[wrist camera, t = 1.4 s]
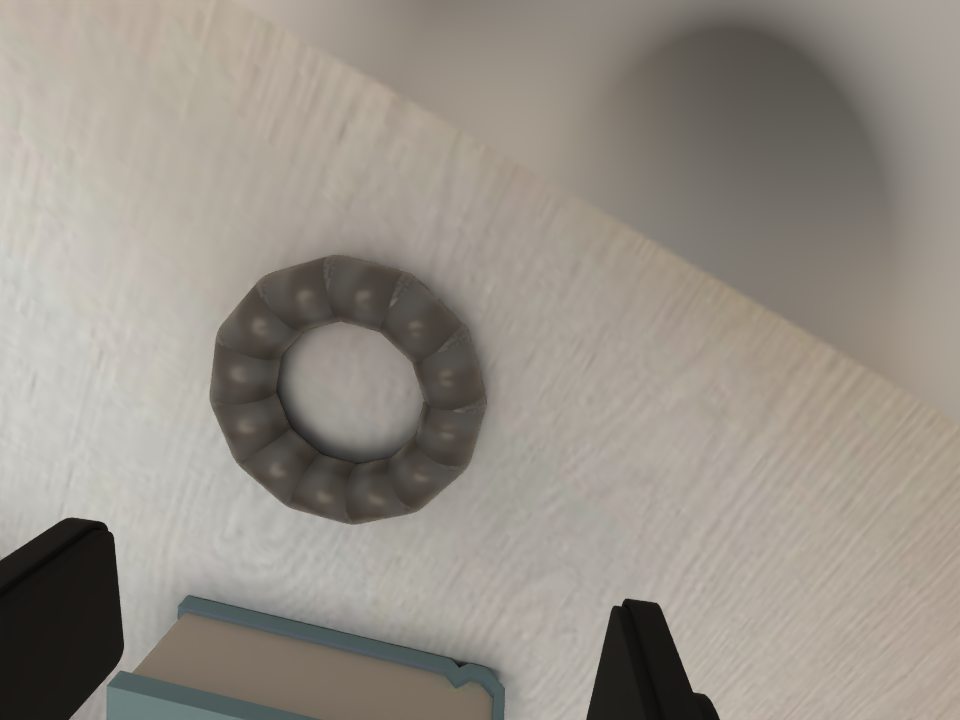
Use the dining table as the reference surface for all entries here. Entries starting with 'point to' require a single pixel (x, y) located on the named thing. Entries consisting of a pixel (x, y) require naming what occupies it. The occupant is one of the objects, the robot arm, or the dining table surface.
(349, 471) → the segmented grey ring
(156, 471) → the dining table surface
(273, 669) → the book
